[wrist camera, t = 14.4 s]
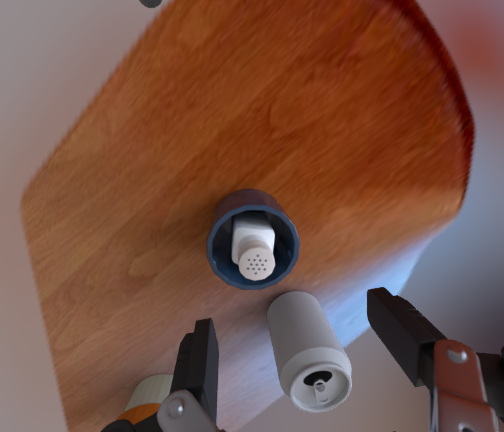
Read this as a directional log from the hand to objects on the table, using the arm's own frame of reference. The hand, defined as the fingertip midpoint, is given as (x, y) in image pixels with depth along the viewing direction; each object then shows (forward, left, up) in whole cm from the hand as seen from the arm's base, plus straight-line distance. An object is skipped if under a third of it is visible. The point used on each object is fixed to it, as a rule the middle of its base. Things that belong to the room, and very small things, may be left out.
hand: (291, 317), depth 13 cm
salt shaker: (0, -2, -19) cm, 19 cm away
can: (+11, -11, -19) cm, 25 cm away
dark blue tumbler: (0, -2, -19) cm, 19 cm away
